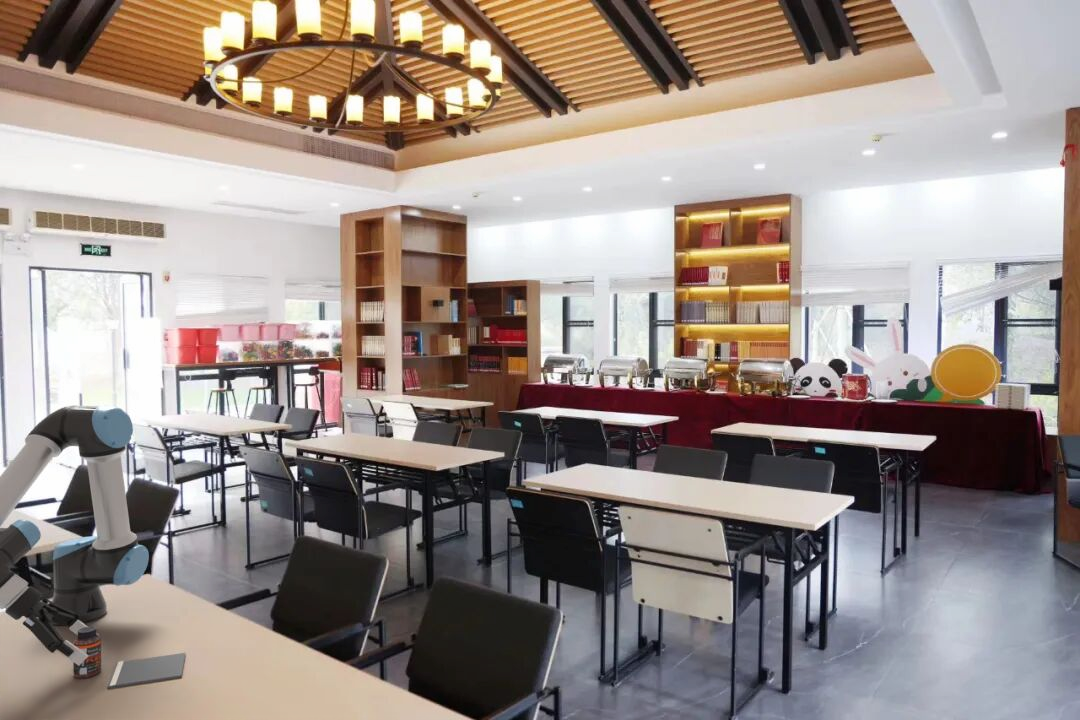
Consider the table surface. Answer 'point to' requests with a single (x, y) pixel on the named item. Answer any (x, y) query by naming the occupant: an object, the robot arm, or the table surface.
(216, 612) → the table surface
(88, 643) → the supplement bottle
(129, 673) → the grey flat slab
